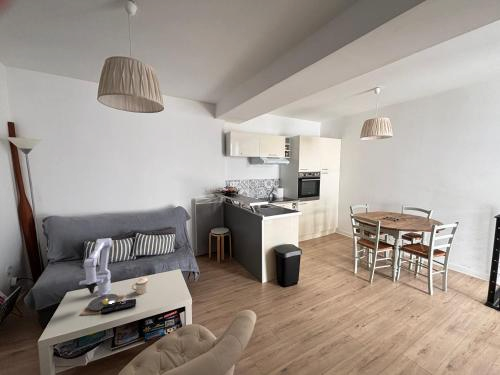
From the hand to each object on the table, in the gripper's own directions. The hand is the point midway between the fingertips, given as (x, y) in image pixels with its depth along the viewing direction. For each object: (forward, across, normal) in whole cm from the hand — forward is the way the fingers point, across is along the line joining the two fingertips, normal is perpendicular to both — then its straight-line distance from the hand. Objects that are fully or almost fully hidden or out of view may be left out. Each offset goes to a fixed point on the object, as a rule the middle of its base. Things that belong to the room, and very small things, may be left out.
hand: (92, 292), depth 151 cm
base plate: (+10, +8, -1) cm, 13 cm away
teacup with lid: (+11, +29, +12) cm, 33 cm away
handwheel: (+9, +7, -1) cm, 12 cm away
